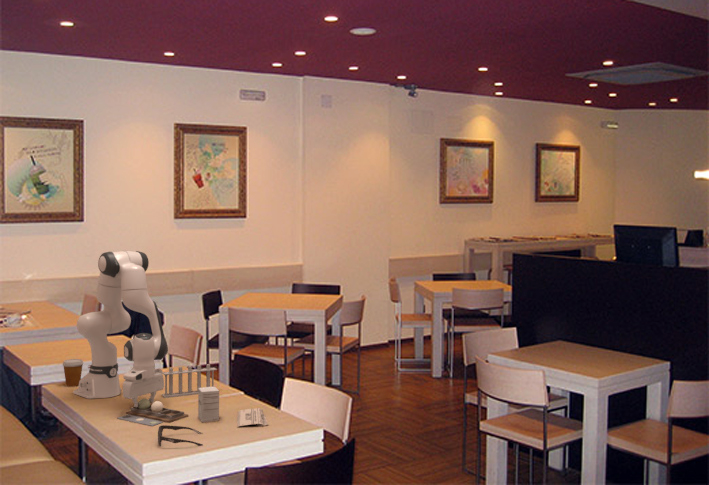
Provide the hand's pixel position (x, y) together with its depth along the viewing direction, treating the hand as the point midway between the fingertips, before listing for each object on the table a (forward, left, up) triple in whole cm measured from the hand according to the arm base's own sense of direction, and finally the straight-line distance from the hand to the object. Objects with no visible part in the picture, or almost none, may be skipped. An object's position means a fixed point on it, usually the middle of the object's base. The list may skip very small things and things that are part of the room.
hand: (144, 404), depth 299 cm
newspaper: (+45, +17, -4) cm, 48 cm away
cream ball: (+8, 0, 0) cm, 8 cm away
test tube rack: (-5, +33, -4) cm, 34 cm away
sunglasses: (+40, -19, -4) cm, 44 cm away
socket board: (+8, 0, -3) cm, 8 cm away
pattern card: (+8, -10, -3) cm, 13 cm away
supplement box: (+30, +7, -4) cm, 31 cm away
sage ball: (0, 0, 0) cm, 0 cm away
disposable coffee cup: (-64, +15, -4) cm, 66 cm away
